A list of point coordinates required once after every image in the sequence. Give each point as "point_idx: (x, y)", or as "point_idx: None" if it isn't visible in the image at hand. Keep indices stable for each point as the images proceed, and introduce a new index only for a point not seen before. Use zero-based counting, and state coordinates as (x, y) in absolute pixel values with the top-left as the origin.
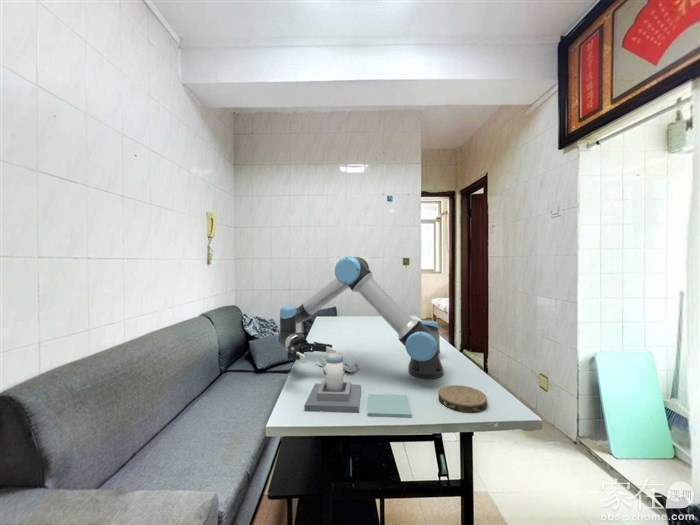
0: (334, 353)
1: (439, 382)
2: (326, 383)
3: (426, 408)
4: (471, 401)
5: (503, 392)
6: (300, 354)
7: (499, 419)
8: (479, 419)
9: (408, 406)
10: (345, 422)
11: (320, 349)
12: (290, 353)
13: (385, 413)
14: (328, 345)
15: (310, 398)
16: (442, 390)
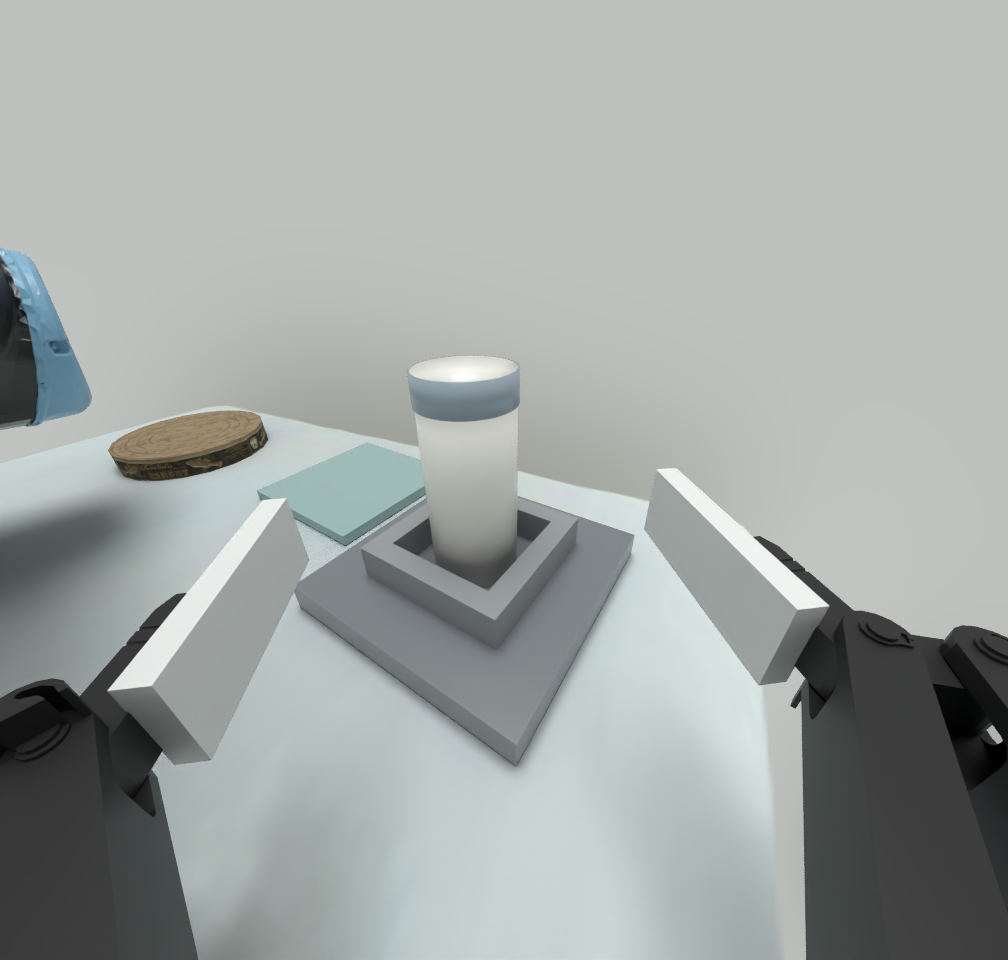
0: (444, 376)
1: (15, 527)
2: (515, 522)
3: (297, 458)
4: (230, 416)
5: (70, 445)
6: (721, 511)
7: (255, 413)
8: (278, 420)
9: (333, 458)
10: (520, 477)
11: (166, 916)
12: (946, 641)
13: (412, 457)
14: (64, 691)
15: (600, 567)
16: (186, 450)
